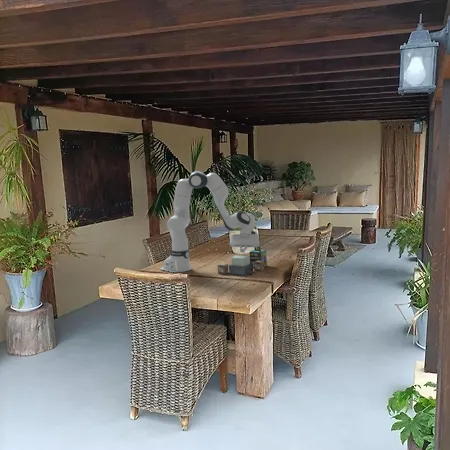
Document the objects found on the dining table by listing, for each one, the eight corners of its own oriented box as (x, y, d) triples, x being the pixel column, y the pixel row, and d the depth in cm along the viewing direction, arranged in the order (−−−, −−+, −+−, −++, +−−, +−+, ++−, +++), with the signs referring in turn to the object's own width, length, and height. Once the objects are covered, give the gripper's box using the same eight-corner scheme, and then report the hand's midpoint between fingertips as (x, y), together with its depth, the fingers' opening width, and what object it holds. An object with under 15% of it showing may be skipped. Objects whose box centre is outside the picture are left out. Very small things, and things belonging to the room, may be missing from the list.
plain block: (231, 269, 291) (231, 257, 289) (238, 266, 298) (237, 254, 297) (243, 270, 286) (243, 258, 285) (250, 267, 294) (249, 255, 293)
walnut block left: (217, 274, 293) (217, 264, 292) (222, 272, 297) (221, 263, 296) (224, 274, 290) (224, 265, 289) (228, 272, 295) (228, 263, 294)
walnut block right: (254, 271, 297) (253, 261, 296) (257, 269, 301) (257, 260, 300) (260, 271, 294) (260, 262, 293) (264, 269, 299) (263, 260, 298)
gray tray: (229, 274, 291) (228, 265, 290) (237, 270, 301) (237, 261, 300) (245, 276, 285) (244, 267, 284) (253, 271, 295) (252, 263, 294)
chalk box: (267, 265, 310) (266, 245, 308) (261, 268, 302) (260, 247, 300) (255, 264, 314) (254, 244, 312) (249, 267, 307) (248, 246, 305)
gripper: (230, 231, 303) (226, 248, 295) (259, 232, 296) (255, 249, 288) (233, 237, 308) (228, 253, 300) (261, 237, 301) (257, 254, 293)
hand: (242, 251), depth 294 cm, fingers closed
